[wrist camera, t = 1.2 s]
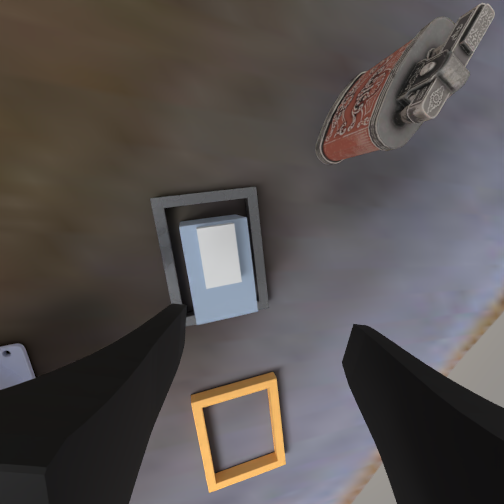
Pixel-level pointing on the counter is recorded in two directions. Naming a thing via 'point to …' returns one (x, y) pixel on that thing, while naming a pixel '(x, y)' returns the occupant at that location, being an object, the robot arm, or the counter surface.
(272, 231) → the counter surface
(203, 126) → the counter surface
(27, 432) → the robot arm
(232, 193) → the open gray picture frame
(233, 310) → the plug
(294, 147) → the counter surface
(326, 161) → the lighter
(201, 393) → the orange picture frame
